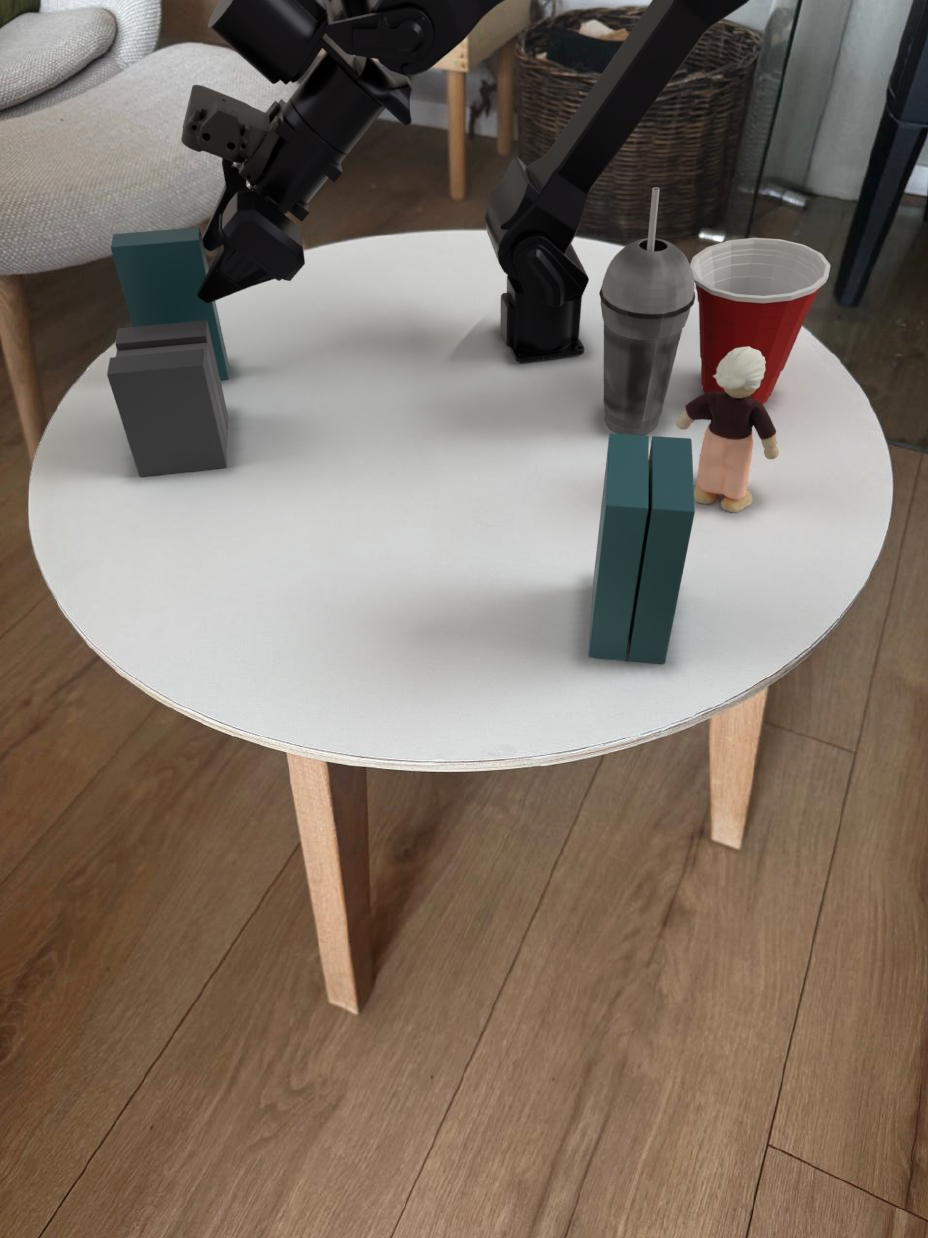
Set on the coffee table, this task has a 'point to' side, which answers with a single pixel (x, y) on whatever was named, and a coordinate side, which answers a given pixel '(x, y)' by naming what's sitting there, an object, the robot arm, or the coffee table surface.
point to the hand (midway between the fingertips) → (203, 272)
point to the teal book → (167, 281)
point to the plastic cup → (754, 302)
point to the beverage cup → (642, 327)
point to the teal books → (641, 546)
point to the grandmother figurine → (731, 430)
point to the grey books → (170, 397)
